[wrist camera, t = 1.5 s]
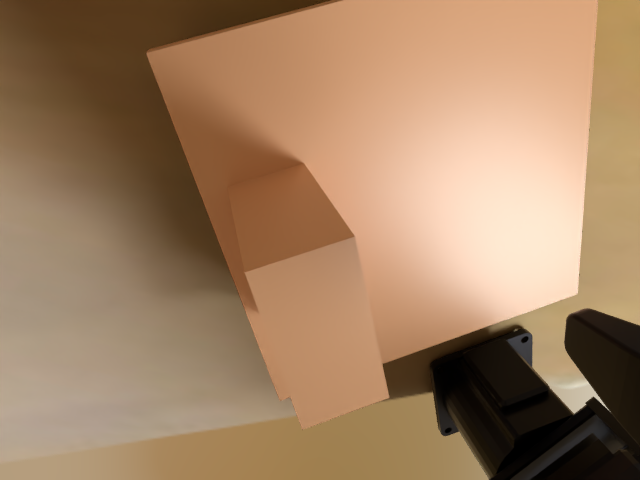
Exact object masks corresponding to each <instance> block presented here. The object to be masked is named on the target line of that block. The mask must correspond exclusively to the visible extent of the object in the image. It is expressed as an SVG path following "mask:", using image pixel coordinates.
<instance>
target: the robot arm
mask: <svg viewBox="0 0 640 480" xmlns="http://www.w3.org/2000/svg"><path fill="white" fill-rule="evenodd" d="M564 344H565V349H566V351H567V353H568V355H569V356H570V358H571V359H572V360H573V362H574V363H575V364H576V366H577V367H578V369H579V370H580V371H581V373H582V374H583V375H584V377H585V378H586V379H587V381H588V382H589V384H590V385H591V386H592V388H593V389H594V390H595V391H596V393H597V394H598V396H599V397H600V398H601V400H602V401H603V403H604V404H605V405H606V407H607V408H608V409H609V411H608V410H607V409H606V408H605V407H604V406H603V405H602V404H601V403H600V402H599V401H598V400H597V399H596V398H594V397H592V398H591V399H590V400H588V401H587V402H586V405H585V406H584V407H583V408H582V409H580V410H579V411H578V412H576V413H575V414H574V413H573V412H572V411H571V410H570V409H569V408H568V407H567V406H566V405H565V404H564V403H563V402H562V401H561V399H560V398H559V397H558V396H557V395H556V394H555V393H554V392H553V391H552V390H551V389H550V387H549V386H548V384H547V383H546V382H545V381H544V380H543V379H542V378H541V377H540V376H539V375H538V373H537V372H536V371H535V370H534V369H533V368H532V334H531V333H530V332H529V331H528V330H526V329H520V330H518V331H515V332H512V333H509V334H506V335H504V336H501V337H498V338H495V339H493V340H490V341H487V342H484V343H482V344H479V345H476V346H473V347H471V348H468V349H465V350H462V351H460V352H457V353H454V354H451V355H449V356H446V357H443V358H440V359H438V360H435V361H434V362H433V363H432V364H431V365H430V373H431V380H432V387H433V394H434V401H435V408H436V415H437V422H438V429H439V430H440V432H441V434H442V435H443V436H448V435H451V434H453V433H456V432H460V433H461V435H462V437H463V438H464V440H465V441H466V443H467V445H468V446H469V448H470V449H471V451H472V453H473V454H474V456H475V457H476V459H477V461H478V462H479V464H480V465H481V467H482V469H483V470H484V472H485V473H486V475H487V477H488V478H489V480H640V326H639V325H636V324H634V323H631V322H628V321H625V320H622V319H619V318H616V317H613V316H610V315H607V314H604V313H602V312H599V311H596V310H593V309H582V310H579V311H577V312H574V313H571V314H570V315H569V316H568V317H567V320H566V330H565V341H564ZM438 368H439V369H438Z"/></svg>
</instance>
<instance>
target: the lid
mask: <svg viewBox="0 0 640 480" xmlns="http://www.w3.org/2000/svg"><path fill="white" fill-rule="evenodd" d="M597 8H598V0H331V1H327V2H324V3H320V4H316V5H312V6H309V7H305V8H301V9H297V10H294V11H290V12H286V13H282V14H279V15H275V16H271V17H267V18H264V19H260V20H256V21H253V22H249V23H245V24H241V25H238V26H234V27H230V28H226V29H223V30H219V31H215V32H211V33H208V34H204V35H200V36H196V37H193V38H189V39H185V40H181V41H178V42H174V43H170V44H166V45H163V46H159V47H155V48H152V49H149V50H148V51H147V52H146V55H147V57H148V60H149V62H150V65H151V68H152V70H153V73H154V75H155V78H156V81H157V83H158V86H159V88H160V91H161V93H162V96H163V99H164V101H165V104H166V106H167V109H168V112H169V114H170V117H171V119H172V122H173V125H174V127H175V130H176V132H177V135H178V138H179V140H180V143H181V145H182V148H183V151H184V153H185V156H186V158H187V161H188V164H189V166H190V169H191V171H192V174H193V177H194V179H195V182H196V184H197V187H198V190H199V192H200V195H201V197H202V200H203V203H204V205H205V208H206V210H207V213H208V216H209V218H210V221H211V223H212V226H213V229H214V231H215V234H216V236H217V239H218V242H219V244H220V247H221V249H222V252H223V255H224V257H225V260H226V262H227V265H228V268H229V270H230V273H231V275H232V278H233V281H234V283H235V286H236V288H237V291H238V293H239V296H240V299H241V301H242V304H243V306H244V309H245V312H246V314H247V317H248V319H249V322H250V325H251V327H252V330H253V332H254V335H255V338H256V340H257V343H258V345H259V348H260V351H261V353H262V356H263V358H264V361H265V364H266V366H267V369H268V371H269V374H270V377H271V379H272V382H273V384H274V387H275V390H276V392H277V395H278V397H279V400H280V401H281V400H284V399H287V398H289V397H290V398H291V401H292V403H293V406H294V409H295V412H296V414H297V417H298V420H299V422H300V425H301V428H302V430H303V429H306V428H309V427H312V426H314V425H317V424H320V423H322V422H325V421H328V420H331V419H333V418H336V417H339V416H341V415H344V414H347V413H350V412H352V411H355V410H357V409H360V408H363V407H366V406H369V405H371V404H374V403H377V402H379V401H382V400H385V399H388V398H389V394H388V389H387V384H386V380H385V375H384V370H383V365H382V364H384V363H387V362H390V361H393V360H395V359H398V358H401V357H404V356H406V355H409V354H412V353H415V352H418V351H420V350H423V349H426V348H429V347H432V346H434V345H437V344H440V343H443V342H445V341H448V340H451V339H454V338H457V337H459V336H462V335H465V334H468V333H471V332H473V331H476V330H479V329H482V328H484V327H487V326H490V325H493V324H496V323H498V322H501V321H504V320H507V319H510V318H512V317H515V316H518V315H521V314H523V313H526V312H529V311H532V310H535V309H537V308H540V307H543V306H546V305H549V304H551V303H554V302H557V301H560V300H562V299H565V298H568V297H571V296H574V295H576V294H578V280H579V266H580V251H581V237H582V223H583V208H584V194H585V180H586V165H587V151H588V137H589V122H590V108H591V94H592V79H593V65H594V51H595V36H596V22H597Z"/></svg>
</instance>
